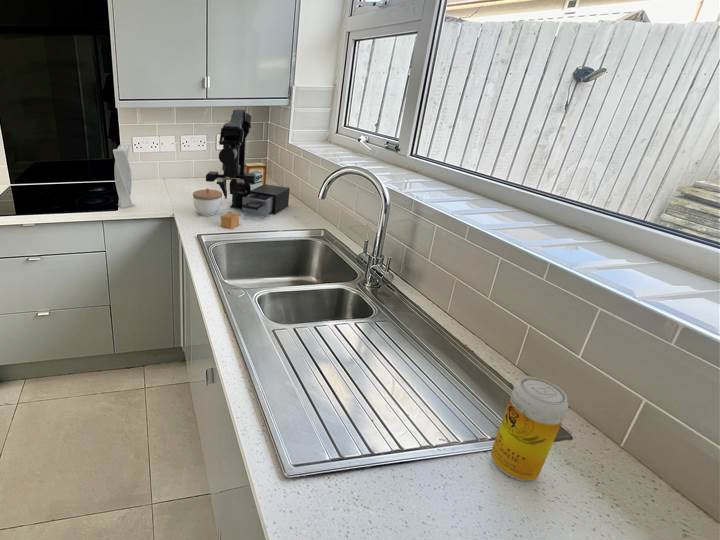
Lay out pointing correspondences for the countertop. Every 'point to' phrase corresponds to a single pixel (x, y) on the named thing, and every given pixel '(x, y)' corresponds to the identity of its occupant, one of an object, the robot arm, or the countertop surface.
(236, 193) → the robot arm
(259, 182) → the baking soda box
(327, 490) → the countertop surface
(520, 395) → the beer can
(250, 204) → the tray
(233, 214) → the wooden block
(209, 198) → the lidded bowl
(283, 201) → the drawer box
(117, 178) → the skyscraper
